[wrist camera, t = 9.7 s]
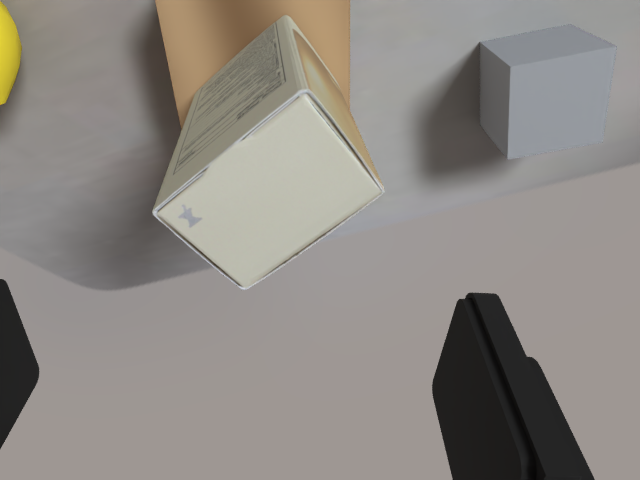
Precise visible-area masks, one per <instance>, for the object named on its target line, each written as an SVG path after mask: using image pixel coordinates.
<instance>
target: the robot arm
mask: <svg viewBox="0 0 640 480" xmlns="http://www.w3.org/2000/svg"><path fill="white" fill-rule="evenodd" d="M38 378H39V367H38V363H37V361H36V358H35V356H34V353H33V350H32V348H31V345H30V342H29V340H28V337H27V335H26V332H25V329H24V327H23V324H22V321H21V319H20V316H19V313H18V311H17V308H16V306H15V303H14V301H13V298H12V295H11V292H10V290H9V287H8V285H7V283H6V281H4V280H3V279H0V448H1V447H2V445H3V443H4V442H5V440H6V438H7V436H8V434H9V432H10V431H11V429H12V427H13V425H14V424H15V422H16V420H17V418H18V416H19V414H20V413H21V411H22V409H23V407H24V405H25V404H26V402H27V400H28V398H29V397H30V395H31V393H32V391H33V389H34V388H35V386H36V383H37V381H38ZM432 391H433V398H434V403H435V407H436V411H437V415H438V420H439V424H440V428H441V432H442V436H443V440H444V445H445V449H446V453H447V457H448V461H449V465H450V470H451V474H452V478H453V480H594V477H593V475H592V473H591V471H590V469H589V467H588V465H587V463H586V460H585V458H584V457H583V454H582V452H581V450H580V448H579V446H578V444H577V442H576V440H575V438H574V436H573V433H572V431H571V429H570V427H569V425H568V423H567V421H566V419H565V417H564V415H563V413H562V410H561V409H560V406H559V404H558V402H557V400H556V398H555V396H554V394H553V392H552V390H551V388H550V386H549V383H548V381H547V380H546V377H545V375H544V373H543V371H542V369H541V367H540V366H539V364H538V362H537V361H536V360H535V359H534V358H532V357H527V356H526V354H525V352H524V350H523V348H522V345H521V343H520V341H519V339H518V337H517V335H516V332H515V330H514V328H513V326H512V324H511V322H510V320H509V317H508V315H507V313H506V311H505V309H504V306H503V305H502V302H501V300H500V298H499V296H498V295H497V294H489V293H468V294H467V295H466V298H465V299H459V300H458V301H457V304H456V307H455V311H454V314H453V317H452V320H451V324H450V327H449V330H448V333H447V337H446V340H445V343H444V347H443V350H442V353H441V356H440V359H439V363H438V366H437V369H436V373H435V376H434V379H433V385H432Z"/></svg>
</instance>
